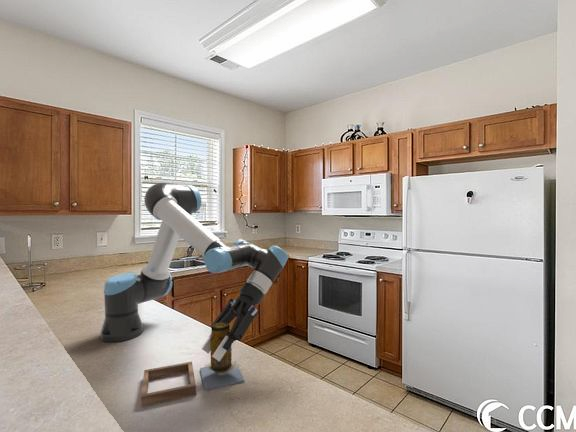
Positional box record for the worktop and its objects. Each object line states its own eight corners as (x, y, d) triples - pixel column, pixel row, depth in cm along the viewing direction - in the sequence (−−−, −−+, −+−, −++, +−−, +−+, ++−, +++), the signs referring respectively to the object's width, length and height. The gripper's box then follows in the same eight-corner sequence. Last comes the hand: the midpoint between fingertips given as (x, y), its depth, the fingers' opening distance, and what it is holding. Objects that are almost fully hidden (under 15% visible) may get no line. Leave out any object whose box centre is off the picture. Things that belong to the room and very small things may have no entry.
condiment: (224, 357, 98) (223, 319, 98) (241, 366, 92) (240, 325, 92) (203, 366, 93) (202, 326, 93) (220, 376, 87) (219, 333, 87)
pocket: (144, 378, 93) (144, 370, 93) (192, 369, 97) (191, 361, 97) (140, 407, 79) (140, 397, 79) (196, 394, 84) (196, 385, 84)
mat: (200, 369, 97) (200, 367, 97) (235, 363, 101) (235, 361, 101) (204, 390, 86) (204, 388, 86) (244, 381, 90) (244, 379, 90)
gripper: (280, 301, 96) (235, 373, 86) (245, 289, 110) (203, 350, 100) (266, 286, 92) (217, 360, 82) (232, 277, 107) (187, 338, 96)
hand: (210, 354), depth 91 cm, fingers closed on condiment, 6 cm apart
